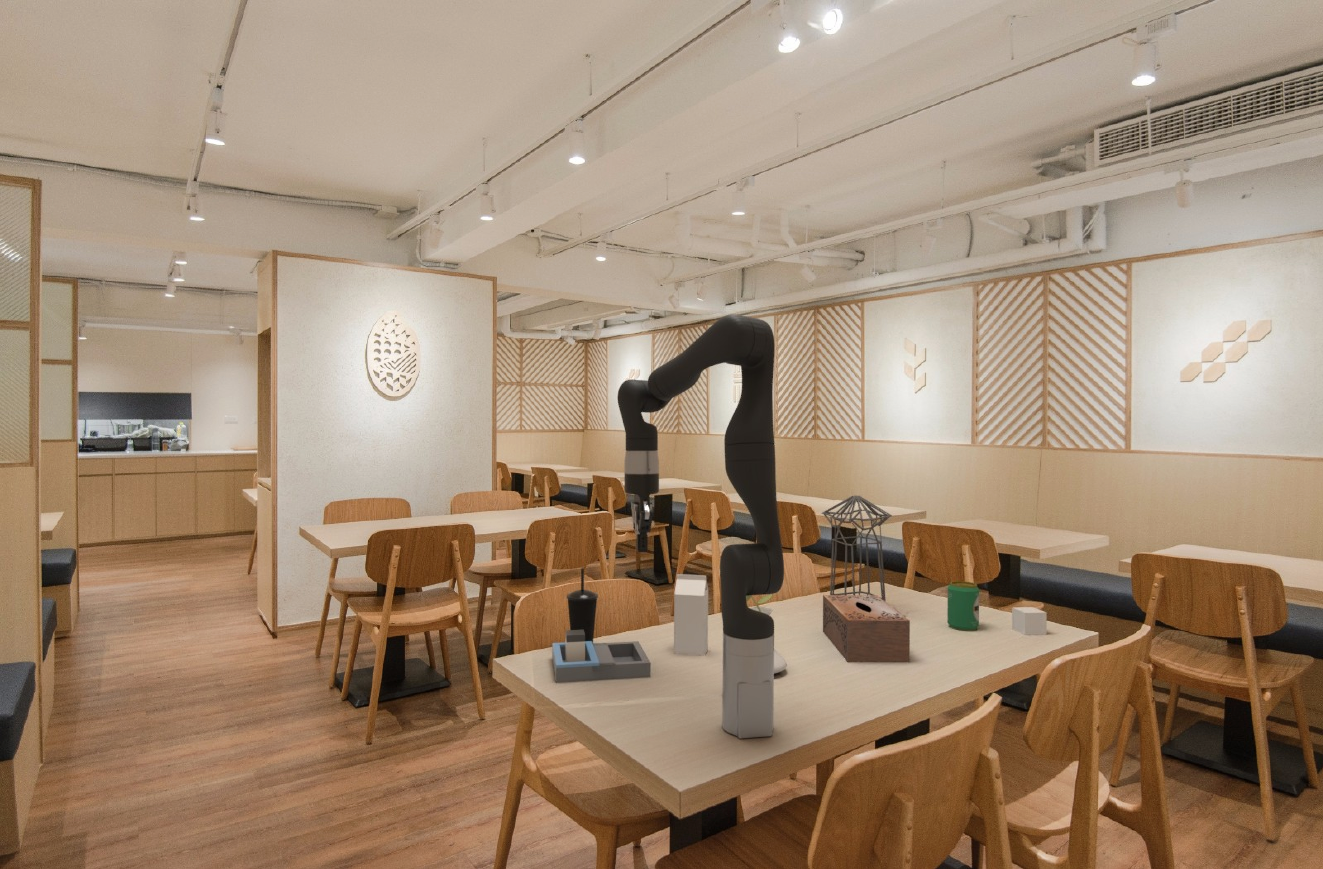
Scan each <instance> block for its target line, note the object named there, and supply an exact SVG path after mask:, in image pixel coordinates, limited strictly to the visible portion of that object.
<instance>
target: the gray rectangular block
mask: <svg viewBox="0 0 1323 869" xmlns="http://www.w3.org/2000/svg"><path fill="white" fill-rule="evenodd" d="M564 638H565V639H564V640H565V641H564V642H565V662H582V661H585V633H584V630H570V629H567V630H565V637H564Z"/></svg>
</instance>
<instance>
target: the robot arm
mask: <svg viewBox="0 0 1323 869" xmlns="http://www.w3.org/2000/svg"><path fill="white" fill-rule="evenodd" d="M775 345H776V344H775V336H774V331H773V329H772V327H771V325H770V324H769V323H768V322H767V321H765V320H764V319H760V318H756V317H751V316H746V315H741V314H734V313H733V314H732V313H731V314H730V313H729V314H728V315H727V314H726V315H724V316H722V317H720V318H719V319H717V320H716V321H715V322H714V323H713V324H712V325H710V326H709V327H708V328H707V329H706V330H705V331H704V332H703V333H702V334H701V335H700V336H699V337H698V338H696V339H695V340H694V341H693V342H692V343H691V344H690V345H689V346H688V347H687V348H686V349H685V350H683V351H682V352H681V353H680V354H678V355H677V356H676V357H673V358H672V359H670V360H669V361H666V362H665V363H664V364H661V365H660V366H658V367H657V368H655V369H654V370H653V371H652V372H651V373H650V374H649V375H648V378H647V380H646V379H643V380H642V379H627V380H625V381H623V382H622V383H621V384H620V387H619V389H618V391H617V406H618V408H619V413H620V416H621V420H622V424H623V428H624V433H625V455H624V470H623V471H624V474H623V475H624V493H625V494H627V495H634V496H633V501H631V503H630V505H631V507H630V510H631V516H632V517H631V518H632V524H633V525H632V526H633V531H634V532H635V535H636V536H635V537H636V538H635V539H636V540H635V541H636V542H635V543H636V546H635V548H636V549H635V550H636V551H637V552H638V553H646V552H648V542H649V541H648V535H649V533H651V531H652V530H651V529H652V525H653V524H652V522H653V518H654V517H653V516H654V510H653V502H651V499H650V495H656V494H659V492H660V461H659V460H660V459H659V451H658V450H659V446H658V445H659V444H658V443H659V440H658V436H659V435H658V428H657V426H656V425H655V424H652V423H649V422H646V421H645V419H644V417H643V414H642V413H650V414H651V413H657V412H659V411H661V410H663V409H664V408H665V407H666V406H667V405H668V404H669V403H670V402H671V401H672V399H673V398H675V397H677V396H678V395H681V394H683V393H686V392H687V391H688V390H690V389H692V387H693V386H694V385H696V384H697V382H698V381H699V380H700V377H701V374H702V372H703V371H704V370H705V371H706V369H708V368H711V367H714V366H717V365H720V364H728V365H732V366H733V365H734V366H740V370H741V372H740V373H741V392H740V397H739V400H738V403H737V405H736V407H735V410H734V412H733V413H732V416H731V418H730V420H729V422H728V425H727V428H726V430H725V434H724V442H723V444H724V446H723V447H724V464H725V473H726V476H727V477H728V480H729V482H730V484H731V485H732V487H733V489H734V490H735V492H736V493H737V494H738V497H739V498H740V499H741V500H742V502H743V504H744V506H746V508H747V510H748V512H749V514H750V517H751V519H752V523H753V525H754V530H755V538H756V543H755V542H753V543H736V544H729V545H726V546H725V547H724V548H723V549H722V552H721V554H720V560H719V579H720V582H719V584H720V600H721V601H720V604H721V605H720V607H721V619H722V690H721V691H722V694H721V696H722V699H721V700H722V702H721V704H722V707H721V708H722V709H721V710H722V712H721V714H722V715H721V718H722V719H721V723H722V724H721V725H722V728H723V730H724V731H725V732H727V733H728V734H731V735H733V736H735V737H737V738H739V739H750V738H751V739H752V738H762V737H772V736H773V732H774V731H773V730H774V726H775V725H774V723H775V722H774V714H775V713H774V710H775V708H774V704H775V703H774V700H775V699H774V698H775V697H774V696H775V694H774V691H775V690H774V689H775V687H774V686H775V682H774V680H775V675H774V649H775V621H774V618H773V617H772V616H771V615H767V614H765V613H762V612H759V611H756V610H753V609H751V607H748V603H747V602H748V601H746V596H750V595H752V596H760V595H761V596H766V595H771V594H773V595H774V594H776V593H778V592H780V590H781V589H782V587H783V584H784V579H785V561H784V551H783V545H782V537H781V529H780V521H779V514H778V512H779V511H778V500H777V481H776V480H777V479H776V478H777V475H776V468H777V467H776V447H775V444H776V443H775V435H774V434H775V432H774V404H773V403H774V402H773V401H774V400H773V395H774V394H773V393H774V392H773V390H774V387H773V385H774V370H775Z"/></svg>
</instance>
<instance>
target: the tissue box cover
mask: <svg viewBox="0 0 1323 869" xmlns="http://www.w3.org/2000/svg"><path fill="white" fill-rule="evenodd" d="M881 598H882V597H881ZM881 598H880V596H878V595H875V594H874V595H867V594H863V595H862V594H860V595H859V594H855V595H853V594H847V595H830V594H829V595H828V594H824V595H822V633H824V635H825V636H826V637H827V639H828V640H829V641H830V643H832V645H833V646H834V647H835V649H836V650H837V652H839V654H840V656H841V657H842V658H845V659H844V660H845V661H846V662H847V663H910V653H911V652H910V647H911V646H910V643H911V642H910V641H911V640H910V638H911V637H910V633H911V632H910V630H911V621H910V619H908V618H907V617H906V616H905V615H903V614H902V613H900V612H899V611H897V609H895V608H894V607H893V606H891V605H890V604H889V603H888V602H886V601H883V600H882V599H881Z"/></svg>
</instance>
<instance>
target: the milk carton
mask: <svg viewBox="0 0 1323 869" xmlns="http://www.w3.org/2000/svg"><path fill="white" fill-rule="evenodd" d="M675 581H676V582H675V588H674V593H673V598H674V599H673V600H674V601H673V602H674V604H673V607H674V608H673V610H674V611H673V616H674V617H673V654H677V655H692V656H694V655H695V656H704V655H706V654H707V651H708V650H709V643H708V642H709V587H708V581H707V575H702V574H700V575H699V574H684V573H683V574H682V573H681V574H679V573H677V574H676V580H675Z"/></svg>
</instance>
